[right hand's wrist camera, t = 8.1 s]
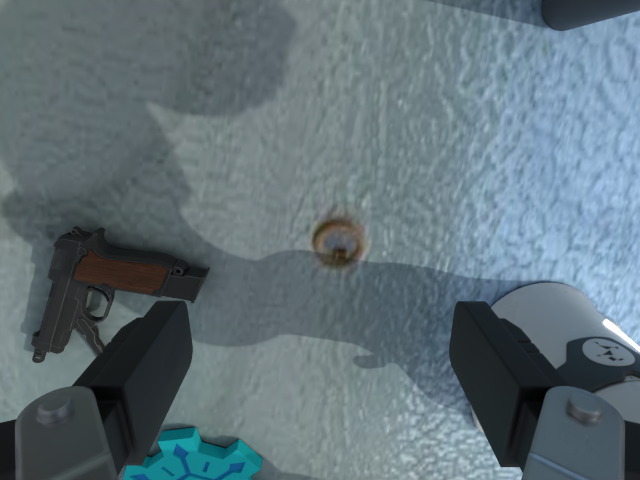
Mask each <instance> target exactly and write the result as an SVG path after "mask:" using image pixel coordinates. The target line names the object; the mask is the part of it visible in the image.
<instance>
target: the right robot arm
mask: <svg viewBox="0 0 640 480" xmlns="http://www.w3.org/2000/svg"><path fill="white" fill-rule="evenodd" d="M192 353H193V346H192V338H191V331H190V324H189V317H188V310H187V305H186V303H185V302H184V301H157V302H155V304H154V305H153V306H152V307H151V309H150V310H149V311H148V312H147V314H146V315H145V316H144V317H143V318H136V319H135V320H133V321H131V322H130V323H128V324H127V325H125V326H124V327H122V328H121V329H120V330H119V331H118V333H117V334H116V335H115V336H114V337H113V338H112V340H111V342H109V343H108V344H107V345H106V347H105V348H104V349H103V352H101V353H100V354H99V355H98V356H97V357H96V358H95V360H94V361H93V362H92V363H91V364H90V365H89V367H88V368H87V369H86V370H85V371H84V372H83V374H82V375H81V376H80V377H79V378H78V379H77V381H76V382H75V383H74V384H73V385H72V386H70V387H65V388H60V389H57V390H54V391H52V392H49V393H47V394H45V395H43V396H41V397H39V398H38V399H36V400H34V401H33V402H32V403H30V404H29V405H28V406H27V407H26V408H25V409H24V410H23V411H22V412H21V413H20V415H19V416H18V418H17V419H16V420H11V421H7V422H2V423H0V480H119V479H118V475H119V473H120V471H121V469H122V467H123V466H142V464H143V462H144V460H145V458H146V456H147V454H148V452H149V450H150V448H151V446H152V444H153V442H154V439H155V437H156V435H157V433H158V431H159V429H160V427H161V425H162V423H163V421H164V419H165V417H166V415H167V413H168V410H169V408H170V406H171V404H172V402H173V400H174V398H175V396H176V394H177V392H178V390H179V388H180V386H181V383H182V381H183V379H184V377H185V375H186V373H187V371H188V369H189V367H190V364H191V360H192ZM449 354H450V361H451V365H452V368H453V370H454V372H455V374H456V376H457V378H458V380H459V382H460V384H461V386H462V388H463V390H464V392H465V394H466V396H467V398H468V400H469V403H470V405H471V407H472V409H473V411H474V413H475V415H476V417H477V419H478V421H479V423H480V425H481V427H482V429H483V431H484V433H485V435H486V437H487V439H488V441H489V444H490V446H491V448H492V450H493V452H494V454H495V456H496V458H497V460H498V462H499V464H500V466H501V467H520V468H521V470H522V472H523V476H522V479H521V480H640V424H639V423H635V422H631V421H627V420H623V418H622V416H621V415H620V413H619V412H618V411H617V410H616V409H615V408H614V407H613V406H612V405H611V404H610V403H608V402H607V401H606V400H604V399H602V398H601V397H599V396H597V395H595V394H593V393H591V392H588V391H586V390H583V389H580V388H575V387H571V386H570V385H569V384H568V383H567V381H566V380H565V379H564V378H563V377H562V376H561V375H560V373H559V372H558V371H557V370H556V369H555V368H554V366H553V365H552V364H551V363H550V362H549V361H548V359H547V358H546V357H545V356H544V355H543V354H542V353H540V350H539V349H538V348H537V347H536V346H535V344H534V343H531V340H530V339H529V337H528V336H527V335H526V334H525V333H524V332H523V331H522V329H521V328H519V327H518V326H516V325H514V324H513V323H511V322H510V321H508V320H507V319H505V318H499V317H498V316H497V315H496V314H495V313H494V311H493V310H492V309H491V308H490V306H489V305H488V304H487V303H486V302H484V301H459V302H457V304H456V306H455V311H454V318H453V325H452V332H451V338H450V346H449Z"/></svg>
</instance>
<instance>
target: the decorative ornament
mask: <svg viewBox="0 0 640 480" xmlns="http://www.w3.org/2000/svg"><path fill="white" fill-rule="evenodd" d="M158 443H159V446H160V448H161V450H162V451H161V452H159V453H158V454H156V455H155V456H154V457H148V456H146V458H145V460H144V462H143V464H142V466H127V467H126V470H125V474H124V477H123V480H252V477H251V475H253V474H254V473H256V472H258V471H259V470H261V464H262V458H261V457H260V456H259V455H258V454H256V453H255V452H254V451H253V450H252V449H250V448H249V447H248V446H247V445H246V444H245V443H243V442H242V441H241V440H240V439H239V440H238V441H236V442H235V443H233V444H232V445H231V446H229V447H228V448H226V449H225V448H221V447H218V446H215V445H211V444H208V443H204V442H202V441H201V439H200V436H199V434H198V431H197V428H196V427H194V428H186V429H178V430H170V431H163V432H162V434H161V436H160V438H159V440H158Z"/></svg>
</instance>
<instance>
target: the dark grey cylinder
mask: <svg viewBox="0 0 640 480" xmlns="http://www.w3.org/2000/svg"><path fill="white" fill-rule="evenodd" d="M639 10H640V0H543V2H542V14H543V18H544V20H545V22H546V23H547V24H548V25H549V26H550V27H551V28H553V29H555V30H559V31H565V30H569V29H573V28H577V27H580V26H584V25H588V24H592V23H595V22H599V21H603V20H606V19H610V18H614V17H617V16H621V15H625V14H628V13H632V12H636V11H639Z"/></svg>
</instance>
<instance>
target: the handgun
mask: <svg viewBox="0 0 640 480" xmlns="http://www.w3.org/2000/svg"><path fill="white" fill-rule="evenodd" d="M104 232H105V229H104V228H102V227H100V228H99V229H98V230H96V231H95V232H94V233H89V232H85V231H82V230H81V229H80V228H79V227H78V226H76V227H74V228H73V229H71V230H70V232H69V233H66V234H64V235H62V236H61V237H60V238H59V239H58V240H57V242H56V243H54V247H55V251H54V255H53V259H52V263H51V267H50V270H49V274H48V278H49V279H50V280H52V281H53V284H52V288H51V292H50V295H49V299H48V303H47V307H46V310H45V314H44V318H43V321H42V325H41V329H40V330H39V331H38V332H35V333H34V334H33V339H32V343H31V345H33V346H34V347H35V351H34V355H33V358H32V360H33V362H35V363H40V362H43V361H44V359H45V355H46V352H53V353H56V354H57V353H61V352H62V351H64V348H65V346H66V345H67V343H68V341H69V338H70V335H71V332H72V329H76V330H77V331H79V332H80V334H82V335H84V334H85V335H86V340H87V342H88V343H89V345H90V346H91V348H92V349H93V350H94V352H95V353H96V355H97V356H98V355H99V354H100V353H101V352H103V349H104V348H105V347H106V345H105V344H104V343H103V341H102V340H101V338H100V337H99V328H98V326H97V325H96V324H95V323H99V322H102V321H104V320H105V318H106V317H107V316H108V313H109V311H110V308H111V305H112V302H113V299H114V292H115V290H121V291H128V292H134V293H140V294H146V295H151V296H156V297H161V296H167V297H172V298H178V299H184V300H189V301H192V302H191V303H194V301H195V299H196V297H197V295H198V293H199V291H200V289H201V287H202V284H203V282H204V280H205V278H206V276H207V274H208V271H209V269H210V268H209V267H208V268H207V269H203V268H197V267H190V268H186V267H187V263H186V262H185V261H183V260H177V259H175V258H174V257H172V256H169V255H167V254H164V253H159V252H147V251H137V250H126V249H117V248H113V247H111V246H110V245H109V244H108V243H107V242H106V240H105V238H104ZM91 285H94V286H98V287H100V288H102V290H103V291H102V290H100V289H98V288H95V287H94V286H91ZM90 286H91V287H90ZM89 291H96V292H99V293H101V294H103V295H104V296H105V298H106V300H107V302H108V301H109V302H108V305H107V308H106V311H105V313H104V316H103V317H95V316H92V315H91V314H89V313H88V312H87V310H86V303H87V296H88V293H89ZM104 291H105V292H107V293H108V296H109V298H108V296H107V294H106V293H105V292H104ZM35 357H41V358H40V359H38V358H35Z"/></svg>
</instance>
